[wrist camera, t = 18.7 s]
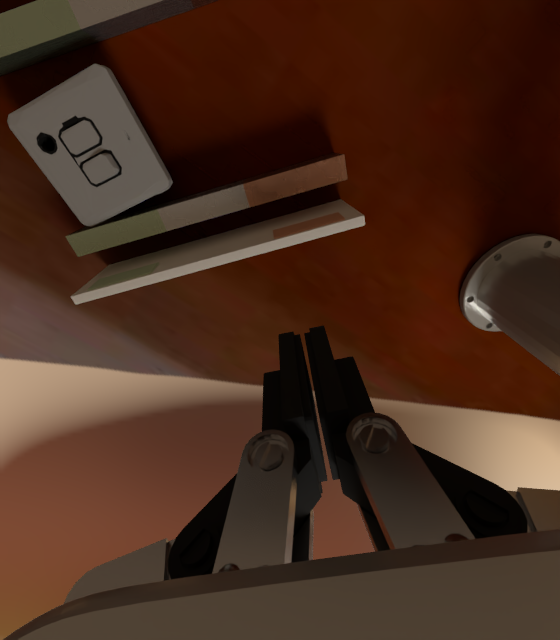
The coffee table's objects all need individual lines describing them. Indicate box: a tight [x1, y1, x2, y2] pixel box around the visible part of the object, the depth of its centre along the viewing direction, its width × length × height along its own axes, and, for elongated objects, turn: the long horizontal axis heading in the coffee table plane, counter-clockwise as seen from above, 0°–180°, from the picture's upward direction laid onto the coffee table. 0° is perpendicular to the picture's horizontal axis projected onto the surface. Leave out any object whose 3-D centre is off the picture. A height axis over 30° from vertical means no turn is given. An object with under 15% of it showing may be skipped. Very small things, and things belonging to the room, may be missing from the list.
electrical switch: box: [7, 64, 173, 227], centre depth 26 cm, size 9×5×9 cm
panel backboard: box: [71, 199, 365, 304], centre depth 29 cm, size 26×1×8 cm, turn 105°
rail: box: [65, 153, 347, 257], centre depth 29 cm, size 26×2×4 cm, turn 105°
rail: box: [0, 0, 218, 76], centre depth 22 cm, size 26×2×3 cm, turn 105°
